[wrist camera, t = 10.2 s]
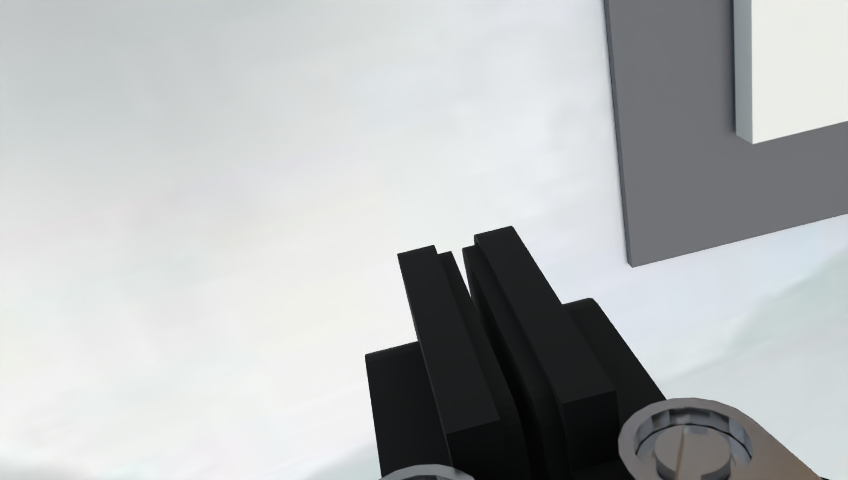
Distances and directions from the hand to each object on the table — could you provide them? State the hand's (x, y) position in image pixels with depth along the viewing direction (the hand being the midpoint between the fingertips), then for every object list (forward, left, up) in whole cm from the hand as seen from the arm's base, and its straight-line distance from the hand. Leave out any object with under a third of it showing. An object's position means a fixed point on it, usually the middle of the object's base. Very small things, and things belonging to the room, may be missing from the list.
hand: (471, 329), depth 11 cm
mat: (+8, +20, -27) cm, 35 cm away
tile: (+5, +18, -26) cm, 32 cm away
